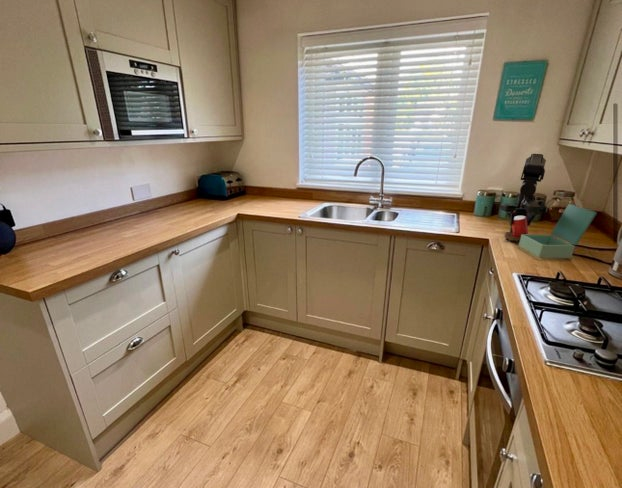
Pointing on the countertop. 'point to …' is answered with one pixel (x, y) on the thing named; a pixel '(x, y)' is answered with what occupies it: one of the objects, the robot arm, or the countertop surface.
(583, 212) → the lid
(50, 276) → the countertop surface
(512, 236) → the stool
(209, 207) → the countertop surface
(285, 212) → the countertop surface
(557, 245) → the green hinged box
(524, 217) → the can
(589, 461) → the countertop surface
